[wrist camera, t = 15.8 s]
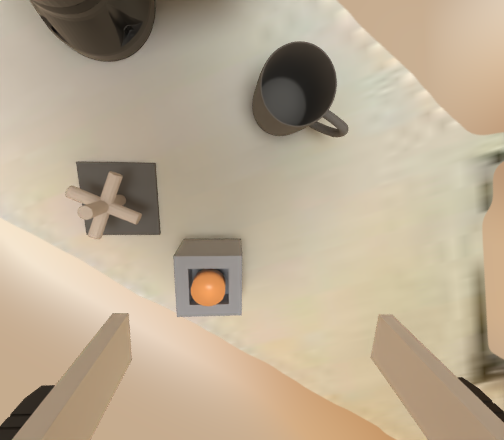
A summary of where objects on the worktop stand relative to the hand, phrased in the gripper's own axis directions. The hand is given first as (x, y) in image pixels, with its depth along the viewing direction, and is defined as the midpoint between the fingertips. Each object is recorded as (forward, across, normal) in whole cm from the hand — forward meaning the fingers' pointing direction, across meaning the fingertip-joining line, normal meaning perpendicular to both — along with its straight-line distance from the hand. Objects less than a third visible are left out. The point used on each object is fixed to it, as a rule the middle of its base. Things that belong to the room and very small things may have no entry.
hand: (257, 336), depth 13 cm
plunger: (+25, -5, -10) cm, 27 cm away
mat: (+31, -20, +2) cm, 37 cm away
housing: (+31, -5, -10) cm, 33 cm away
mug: (+31, +7, +17) cm, 36 cm away
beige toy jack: (+31, -20, +2) cm, 37 cm away
